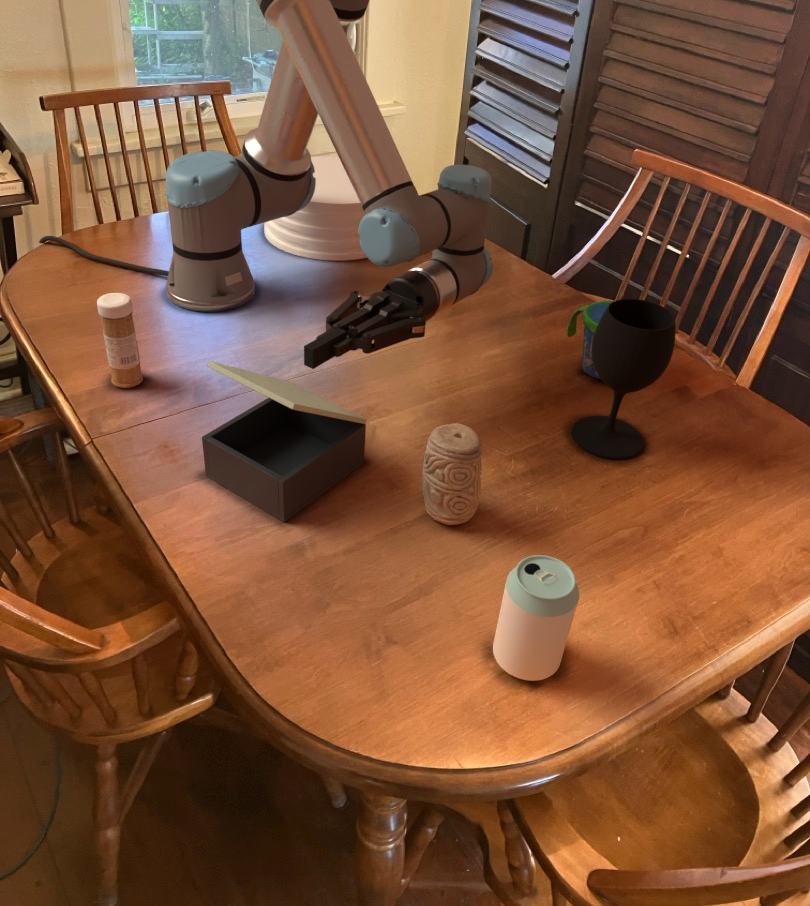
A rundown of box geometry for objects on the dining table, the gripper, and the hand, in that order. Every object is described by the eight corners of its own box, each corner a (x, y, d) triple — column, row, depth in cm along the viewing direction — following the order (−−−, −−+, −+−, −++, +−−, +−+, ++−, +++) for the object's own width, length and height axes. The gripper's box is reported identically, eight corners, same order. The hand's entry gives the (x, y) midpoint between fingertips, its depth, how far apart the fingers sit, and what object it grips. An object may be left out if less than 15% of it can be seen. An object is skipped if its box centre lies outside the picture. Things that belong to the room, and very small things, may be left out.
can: (489, 677, 81) (506, 596, 74) (494, 625, 86) (511, 544, 79) (559, 690, 80) (583, 609, 73) (560, 636, 86) (582, 556, 78)
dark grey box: (284, 522, 97) (283, 482, 93) (205, 476, 103) (201, 436, 99) (364, 462, 107) (366, 424, 104) (288, 423, 113) (287, 386, 109)
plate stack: (368, 271, 155) (370, 213, 148) (239, 242, 161) (236, 186, 155) (416, 223, 176) (420, 171, 169) (301, 200, 183) (300, 148, 176)
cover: (292, 409, 89) (294, 403, 89) (206, 366, 95) (208, 360, 95) (365, 424, 103) (367, 419, 103) (286, 385, 109) (288, 381, 109)
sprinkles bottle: (141, 371, 121) (129, 290, 113) (144, 387, 118) (132, 304, 110) (110, 375, 120) (95, 293, 112) (112, 391, 117) (97, 307, 108)
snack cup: (546, 359, 133) (558, 303, 126) (588, 342, 138) (600, 288, 132) (621, 403, 123) (637, 345, 117) (662, 383, 129) (679, 327, 123)
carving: (433, 488, 104) (442, 412, 97) (485, 510, 101) (498, 433, 94) (408, 515, 99) (416, 437, 92) (462, 539, 97) (474, 461, 89)
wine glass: (601, 467, 110) (636, 339, 98) (556, 426, 117) (584, 302, 105) (658, 450, 114) (699, 325, 102) (612, 411, 121) (645, 290, 109)
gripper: (453, 333, 114) (348, 402, 98) (381, 304, 120) (270, 365, 104) (459, 285, 110) (350, 349, 94) (383, 257, 115) (268, 313, 99)
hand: (308, 357), depth 99 cm, fingers closed
